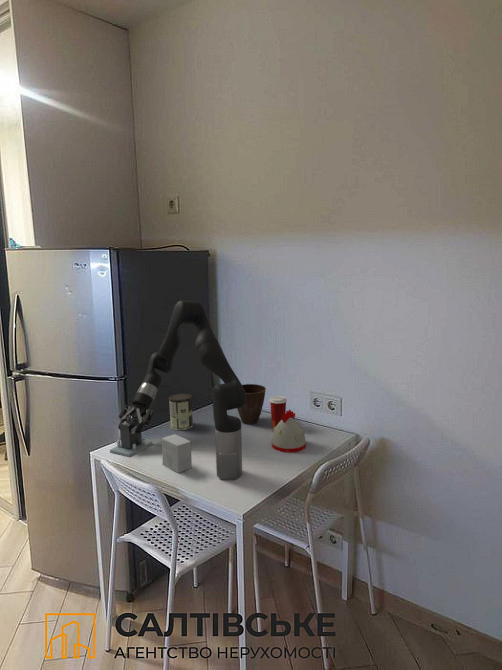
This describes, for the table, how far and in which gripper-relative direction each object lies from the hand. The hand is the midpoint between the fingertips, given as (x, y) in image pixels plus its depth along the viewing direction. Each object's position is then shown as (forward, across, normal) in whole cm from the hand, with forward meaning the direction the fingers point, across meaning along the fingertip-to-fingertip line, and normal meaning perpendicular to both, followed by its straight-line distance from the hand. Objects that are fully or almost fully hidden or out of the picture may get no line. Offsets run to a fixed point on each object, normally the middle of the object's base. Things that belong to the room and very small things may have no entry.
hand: (128, 431), depth 188 cm
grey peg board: (+4, 0, +6) cm, 8 cm away
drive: (+4, 0, +6) cm, 7 cm away
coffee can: (-16, +4, +27) cm, 31 cm away
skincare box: (+8, +27, +3) cm, 28 cm away
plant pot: (-29, +30, +40) cm, 57 cm away
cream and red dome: (-16, +57, +28) cm, 65 cm away
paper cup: (-27, +45, +38) cm, 65 cm away
